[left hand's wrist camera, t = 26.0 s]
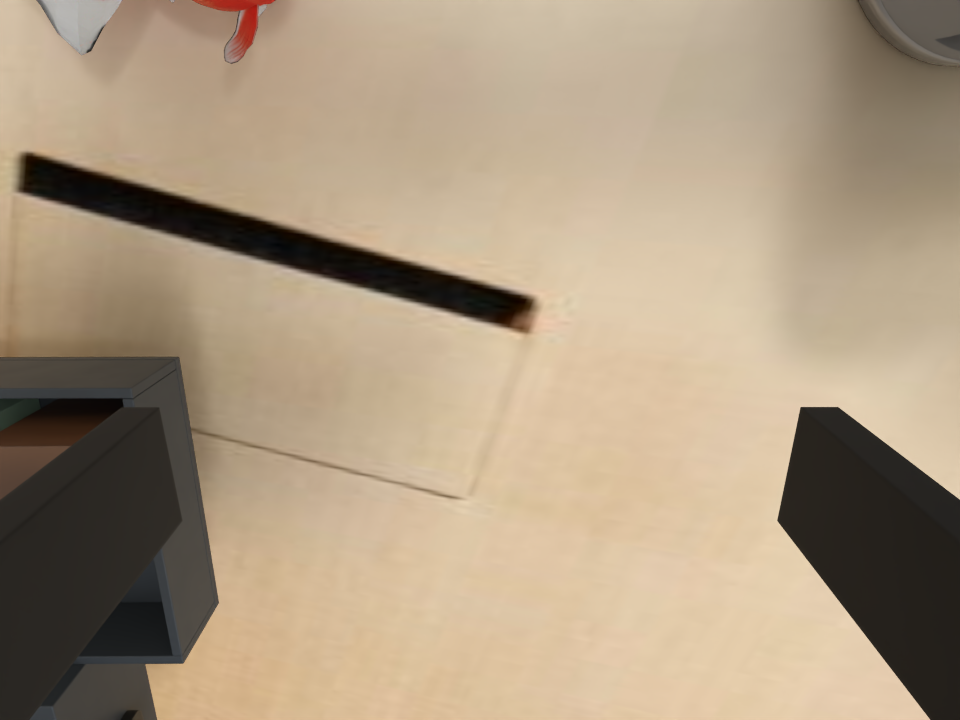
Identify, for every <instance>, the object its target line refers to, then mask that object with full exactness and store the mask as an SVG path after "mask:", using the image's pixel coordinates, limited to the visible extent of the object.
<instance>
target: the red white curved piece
mask: <svg viewBox="0 0 960 720" xmlns="http://www.w3.org/2000/svg"><path fill="white" fill-rule="evenodd" d="M37 1H38V3H39V4H40V5H41V7H42V8H43V10H44V12H45V13H46V15H47V17H48V18H49V20H50V22H51V23H52V25H53V26H54V28H55V30H56V31H57V33H58V34H59V35H60V36H61V37H62V38H63V39H64V40H66V41H67V42H68V43H69V44H70V45H71V46H72V47H73V48H74V49H75V50H76V51H77V52H78V53H80V54H81V55H83V54H86V53H88V52H90V51H91V50H92V48H93V46H94V44H95V42H96V41H97V39H98V37H99V35H100V33H101V31H102V29H103V28H104V26H105V25H106V23H107V22H108V21H109V19H110V18H111V16H112V15H113V14H114V12H115V11H116V9H117V8H118V6H119V5H120V3H121V2H122V0H37ZM170 1H171V2H174V1H175V0H170ZM193 1H195V2H197V3H199V4H201V5H204V6H207V7H210V8H214V9H217V10H222V11H239V15H238V20H237V26H236V31H235V33H234V34H233V36H232V37H231V39H230V40H229V41H228V43H227V44H226V46H225V49H224V58H225V61H226V62H228V63H231V64H232V63H235V62H238V61H239V60H240V59H241V58H242V57H243V56H244V54H245V52H246V50H247V49H248V48H249V47H250V46H251V45H252V44H253V41H254V38H255V34H256V31H257V28H258V17H259V16H260V15H261V13H262V12H263V11H264V10H265V9H266V7H267V5H266V4H271V3H272V2H274V1H275V0H193Z"/></svg>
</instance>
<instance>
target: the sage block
mask: <svg viewBox="0 0 960 720" xmlns="http://www.w3.org/2000/svg"><path fill="white" fill-rule="evenodd" d="M39 409H41V407H40V403H39V399H0V431H2V430H4V429H5V428H7V427H9V426H11V425H12V424H14V423H16V422H18V421H20V420H21V419H23V418H25V417H27V416H28V415H30V414H32V413H34V412H36V411H37V410H39Z"/></svg>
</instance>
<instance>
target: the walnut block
mask: <svg viewBox="0 0 960 720" xmlns="http://www.w3.org/2000/svg"><path fill="white" fill-rule="evenodd" d="M121 407H124V406H123V398H63V399H57V400H55V401H53V402H52V403H50V404H48V405H46V406H44V407H43V408H41V409H39V410H37V411H36V412H34V413H32V414H30V415H28V416H27V417H25V418H23V419H21V420H20V421H18V422H16V423H14V424H12V425H11V426H9V427H7V428H5V429H4V430H2V431H0V500H1V499H2V498H3V497H5V496H6V495H7V494H9V493H10V492H11V491H13V490H14V489H15V488H16V487H18V486H19V485H20V484H22V483H23V482H24V481H26V480H27V479H28V478H30V477H31V476H32V475H34V474H35V473H36V472H37V471H39V470H40V469H41V468H43V467H44V466H45V465H47V464H48V463H49V462H51V461H52V460H53V459H55V458H56V457H57V456H58V455H60V454H61V453H62V452H64V451H65V450H66V449H68V448H69V447H70V446H72V445H73V444H74V443H76V442H77V441H78V440H79V439H81V438H82V437H83V436H85V435H86V434H87V433H89V432H90V431H91V430H93V429H94V428H95V427H97V426H98V425H99V424H100V423H102V422H103V421H104V420H106V419H107V418H108V417H110V416H111V415H112V414H114V413H115V412H116V411H118V410H119V409H120V408H121Z"/></svg>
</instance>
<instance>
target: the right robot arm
mask: <svg viewBox="0 0 960 720" xmlns="http://www.w3.org/2000/svg"><path fill="white" fill-rule="evenodd" d="M121 720H144V719H143V715H142V711H141V710H127V711H126V712H125V714H124V715H123V717H122V719H121Z"/></svg>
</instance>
